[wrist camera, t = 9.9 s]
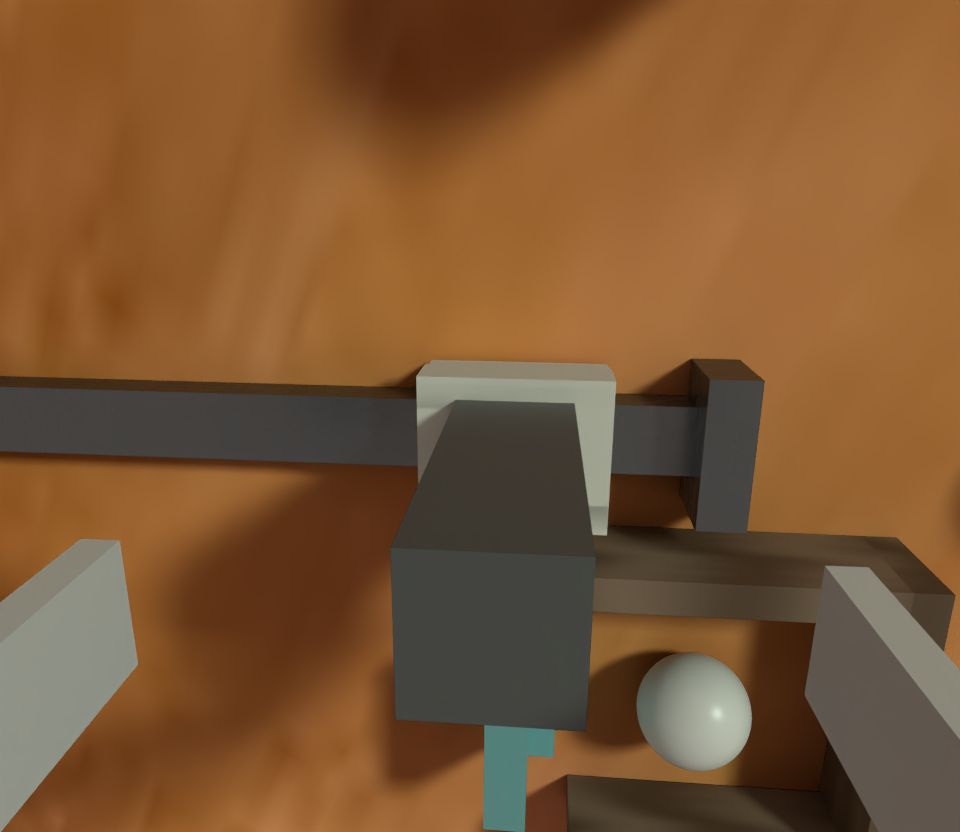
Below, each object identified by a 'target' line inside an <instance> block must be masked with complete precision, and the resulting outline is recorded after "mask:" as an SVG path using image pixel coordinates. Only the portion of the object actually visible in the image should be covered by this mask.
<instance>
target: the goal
mask: <svg viewBox="0 0 960 832" xmlns="http://www.w3.org/2000/svg"><path fill="white" fill-rule="evenodd" d="M593 541H594V549H595V556H596V561H595V578H594V596H593V612H609V613H628V614H648V615H667V616H687V617H707V618H726V619H746V620H765V621H785V622H804V623H816V619H817V613H818V606H819V600H820V594H821V587H822V581H823V575H824V569H825V566H847V567H869V568H870V569H871V571H872V572H873V573H874V574H875V575H876V576H877V577H878V578H879V580H880V581H881V582H882V583H883V584H884V585H885V586H886V587H887V589H888V590H889V591H890V592H891V593H892V594H893V595H894V596H895V598H896V599H897V600H898V601H899V602H900V603H901V604H902V605H903V607H904V608H905V609H906V610H907V611H908V612H909V613H910V614H911V616H912V617H913V618H914V619H915V620H916V621H917V622H918V623H919V625H920V626H921V627H922V628H923V629H924V630H925V631H926V632H927V634H928V635H929V636H930V637H931V638H932V639H933V640H934V642H935V643H936V644H937V645H938V646H939V647H940V648H941V649H942V651H943V652H944V647H945V643H946V638H947V633H948V628H949V624H950V619H951V614H952V609H953V605H954V600H955V594H954V593H953V592H952V591H951V590H950V589H949V588H948V587H947V586H945V585H944V584H943V583H942V582H941V581H940V580H939V579H938V578H937V577H936V576H935V575H934V574H933V573H932V572H931V571H930V570H929V569H928V568H927V567H926V566H925V565H924V564H923V563H922V562H921V561H920V560H919V559H918V558H917V557H916V556H915V555H914V554H913V553H912V552H911V551H910V550H909V549H908V548H907V547H906V546H905V545H904V544H903V543H902V542H901V541H900V540H898V539H897V538H891V537H868V536H844V535H820V534H796V533H772V532H749V531H747V533H725V532H701V531H695V529H677V528H653V527H630V526H607V536H606V535H593ZM566 810H567V832H878V831H877V829H876V827H875V825H874V823H873V821H872V819H871V818H870V816H869V814H868V812H867V810H866V808H865V806H864V805H863V803H862V801H861V799H860V797H859V795H858V793H857V792H856V790H855V788H854V786H853V784H852V782H851V780H850V779H849V777H848V775H847V773H846V771H845V769H844V768H843V766H842V764H841V762H840V760H839V758H838V756H837V755H836V753H835V751H834V749H833V747H832V745H831V743H830V742H829V740H828V741H827V747H826V753H825V759H824V765H823V771H822V777H821V783H820V789H819V792H810V791H795V790H780V789H766V788H751V787H736V786H722V785H707V784H692V783H678V782H663V781H649V780H634V779H619V778H605V777H590V776H575V775H567V791H566Z"/></svg>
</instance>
